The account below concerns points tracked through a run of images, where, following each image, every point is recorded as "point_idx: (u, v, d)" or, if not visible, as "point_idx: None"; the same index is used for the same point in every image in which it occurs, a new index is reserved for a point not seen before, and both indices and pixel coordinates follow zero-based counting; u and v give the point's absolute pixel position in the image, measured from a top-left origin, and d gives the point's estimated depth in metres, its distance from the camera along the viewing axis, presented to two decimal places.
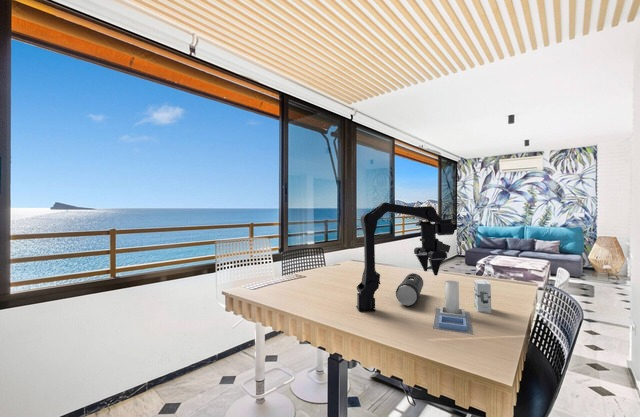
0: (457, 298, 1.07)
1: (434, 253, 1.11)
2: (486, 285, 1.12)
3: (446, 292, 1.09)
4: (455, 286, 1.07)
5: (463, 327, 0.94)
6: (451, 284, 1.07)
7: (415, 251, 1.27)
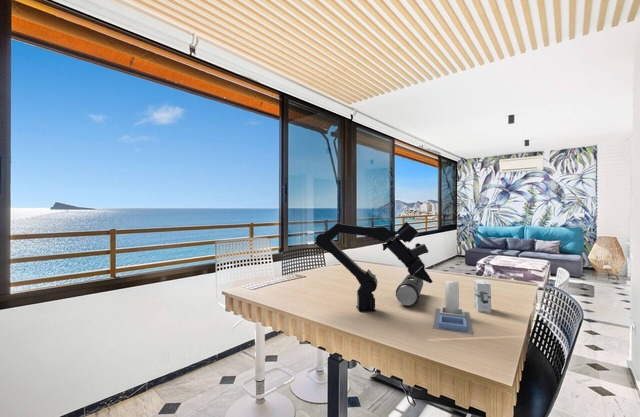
0: (457, 298, 1.07)
1: (409, 269, 1.05)
2: (486, 285, 1.12)
3: (446, 292, 1.09)
4: (455, 286, 1.07)
5: (463, 327, 0.94)
6: (451, 284, 1.07)
7: None
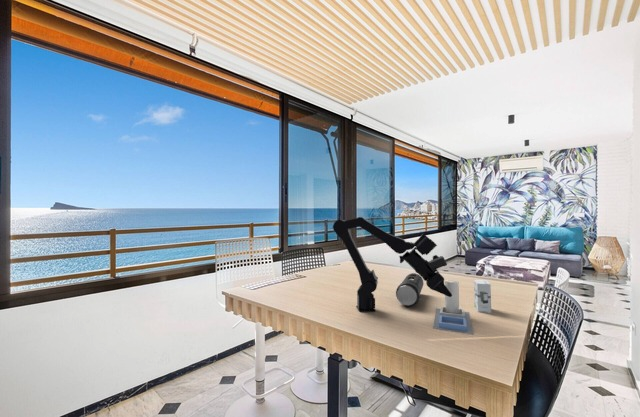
0: (457, 298, 1.07)
1: (428, 283, 1.03)
2: (486, 285, 1.12)
3: None
4: (455, 286, 1.07)
5: (463, 327, 0.94)
6: (451, 284, 1.07)
7: None
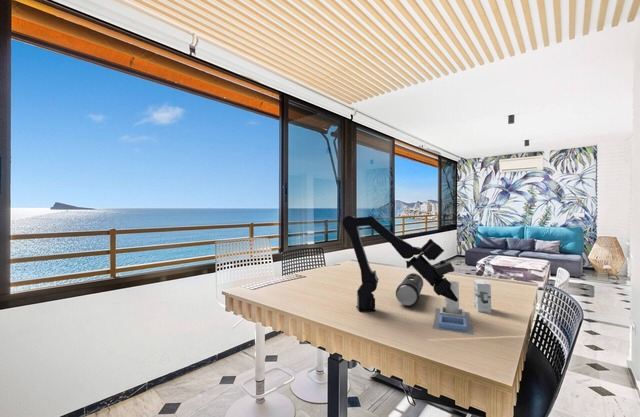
0: (457, 298, 1.07)
1: (435, 289, 1.02)
2: (486, 285, 1.12)
3: None
4: (455, 286, 1.07)
5: (463, 327, 0.94)
6: (451, 284, 1.07)
7: None
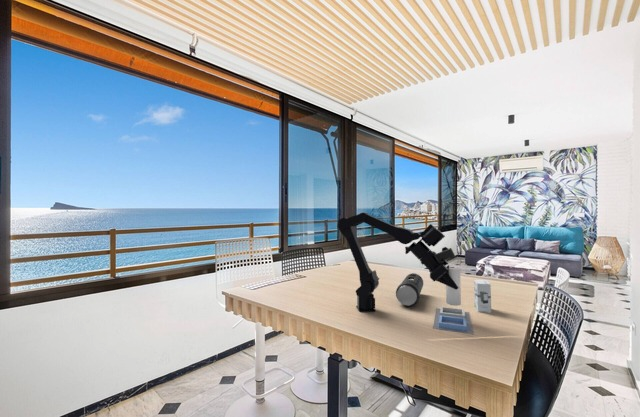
0: (458, 286, 1.02)
1: (431, 275, 0.99)
2: (486, 285, 1.12)
3: None
4: (455, 273, 1.02)
5: (463, 327, 0.94)
6: (451, 271, 1.02)
7: None
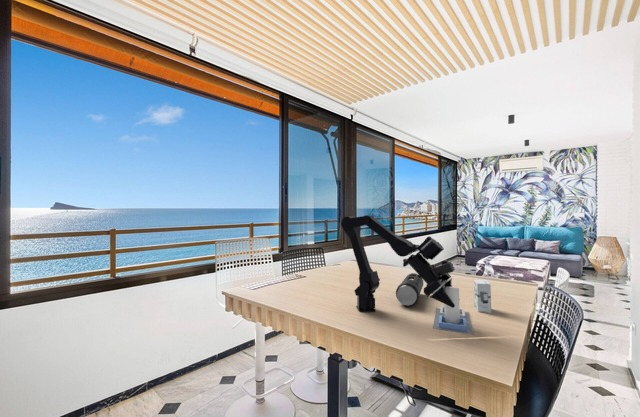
0: (455, 307, 0.97)
1: (424, 290, 0.96)
2: (486, 285, 1.12)
3: None
4: (452, 292, 0.97)
5: (463, 327, 0.94)
6: (448, 291, 0.98)
7: None
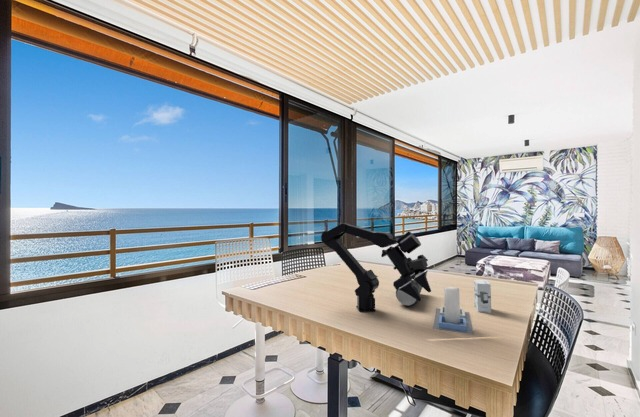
0: (456, 307, 0.97)
1: (394, 283, 1.03)
2: (486, 285, 1.12)
3: (444, 299, 0.99)
4: (452, 293, 0.97)
5: (463, 327, 0.94)
6: (448, 291, 0.98)
7: None
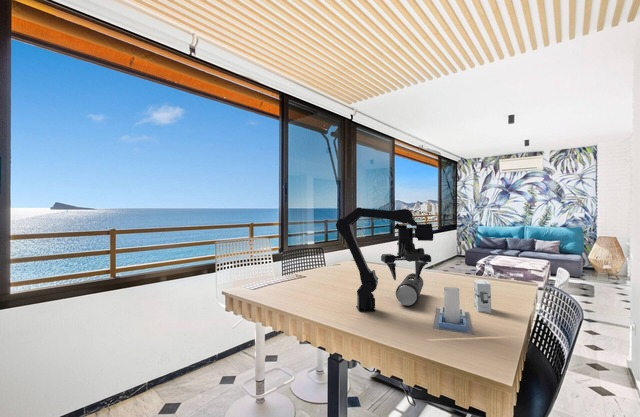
0: (456, 307, 0.97)
1: (381, 255, 1.15)
2: (486, 285, 1.12)
3: (444, 299, 0.99)
4: (452, 293, 0.97)
5: (463, 327, 0.94)
6: (448, 291, 0.97)
7: None
